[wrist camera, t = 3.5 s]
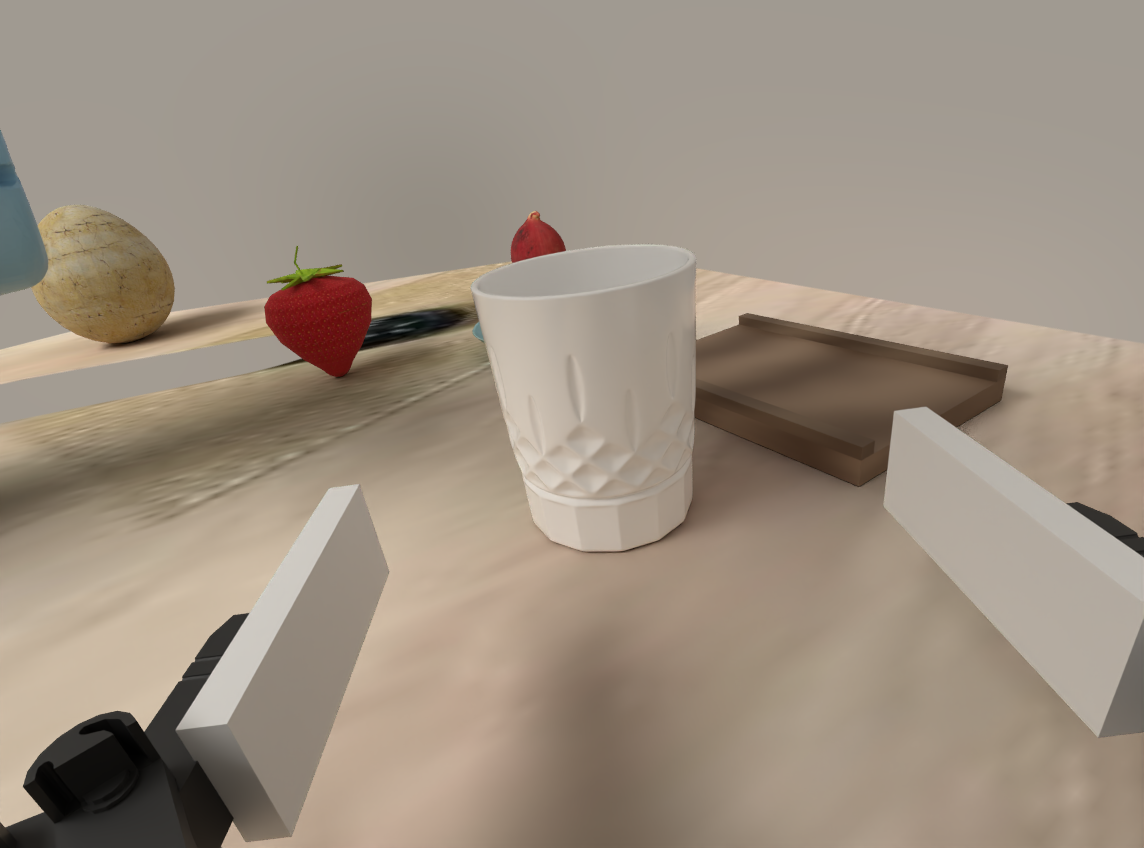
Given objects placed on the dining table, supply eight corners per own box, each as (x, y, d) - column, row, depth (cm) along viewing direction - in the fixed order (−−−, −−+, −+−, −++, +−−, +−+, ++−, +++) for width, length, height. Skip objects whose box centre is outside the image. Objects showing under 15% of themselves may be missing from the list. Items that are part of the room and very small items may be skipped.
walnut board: (621, 386, 36) (618, 359, 36) (747, 338, 41) (747, 313, 40) (858, 486, 24) (862, 447, 23) (1001, 400, 28) (1008, 365, 28)
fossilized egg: (153, 349, 63) (85, 201, 57) (38, 365, 63) (-43, 220, 57) (213, 317, 75) (162, 192, 68) (116, 332, 75) (55, 208, 68)
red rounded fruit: (533, 298, 60) (520, 217, 57) (508, 291, 65) (494, 216, 62) (580, 285, 63) (569, 207, 60) (552, 279, 68) (541, 206, 64)
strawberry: (400, 370, 45) (362, 236, 41) (297, 401, 42) (245, 259, 37) (379, 354, 50) (343, 232, 45) (285, 381, 46) (238, 252, 42)
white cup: (658, 443, 29) (642, 236, 25) (744, 529, 22) (741, 262, 18) (504, 484, 28) (458, 270, 23) (544, 590, 21) (489, 313, 16)
